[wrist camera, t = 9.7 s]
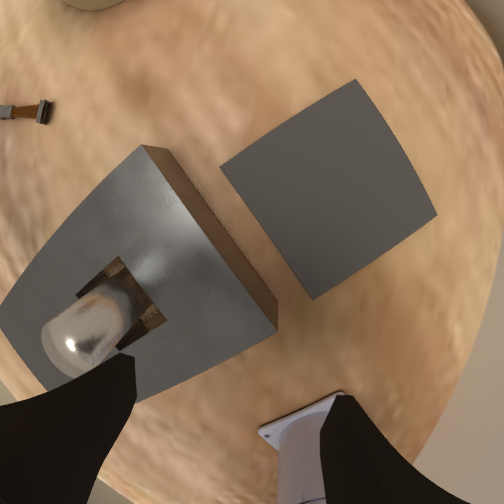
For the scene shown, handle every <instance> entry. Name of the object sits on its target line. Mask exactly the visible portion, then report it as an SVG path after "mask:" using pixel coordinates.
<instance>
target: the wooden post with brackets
mask: <svg viewBox="0 0 504 504" xmlns="http://www.w3.org/2000/svg"><path fill="white" fill-rule="evenodd" d="M49 103H51V102H49V101H47V100H41V101H40V104H38V105H33V106H23V107H16V106H13V105H11V106H3V105H1V106H0V119H2V120H6V118H9V119H14V117H26V118H33V119H36V123H40V124H45V119H46V114H47V109H48V105H49ZM45 125H46V124H45Z"/></svg>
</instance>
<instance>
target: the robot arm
mask: <svg viewBox="0 0 504 504" xmlns="http://www.w3.org/2000/svg"><path fill="white" fill-rule="evenodd" d="M136 399H137V387H136V372H135V357H133V356H130V355H127V354H123V353H118V354H116V355H114V356H113V357H111V358H109V359H108V360H106V361H104V362H103V363H101V364H99V365H98V366H96V367H94V368H93V369H91V370H89V371H88V372H86V373H84V374H82V375H81V376H79V377H77V378H75V379H73V380H71V381H69V382H67V383H65V384H63V385H61V386H59V387H57V388H55V389H53V390H51V391H48V392H46V393H43V394H41V395H38V396H35V397H32V398H29V399H26V400H22V401H19V402H15V403H11V404H7V405H2V406H0V504H87V501H88V498H89V496H90V493H91V490H92V487H93V485H94V482H95V480H96V477H97V475H98V472H99V470H100V468H101V466H102V464H103V462H104V460H105V458H106V456H107V455H108V453H109V451H110V450H111V448H112V446H113V444H114V443H115V441H116V439H117V438H118V436H119V434H120V432H121V431H122V429H123V427H124V425H125V424H126V422H127V420H128V418H129V416H130V414H131V411H132V409H133V406H134V404H135V401H136ZM258 434H259V435H260V436H261V437H262V438H263V439H265V440H266V441H267V442H268V443H269V444H270V445H271V446H272V447H274V448H275V449H276V450H277V451H278V483H277V504H470V503H468V502H465V501H463V500H461V499H459V498H457V497H455V496H454V495H452V494H450V493H448V492H447V491H445V490H444V489H442V488H440V487H439V486H437V485H436V484H435V483H433V482H432V481H430V480H429V479H428V478H426V477H425V476H424V475H422V474H421V473H420V472H419V471H418V470H416V469H415V468H414V467H413V466H412V465H411V464H410V463H409V462H408V461H407V460H405V459H404V458H403V457H402V456H401V455H400V453H399V452H398V451H397V450H396V449H395V448H394V447H393V446H392V445H391V444H390V443H389V441H388V440H387V439H386V438H385V437H384V436H383V434H382V433H381V432H380V431H379V429H378V428H377V427H376V426H375V424H374V423H373V422H372V421H371V419H370V418H369V417H368V415H367V414H366V413H365V411H364V410H363V409H362V407H361V406H360V405H359V403H358V402H357V401H356V399H355V398H354V397H353V396H350V395H345V394H344V393H343V392H337V393H335V394H333V395H331V396H329V397H327V398H325V399H323V400H321V401H319V402H317V403H315V404H313V405H311V406H308V407H306V408H304V409H302V410H300V411H298V412H295V413H293V414H291V415H289V416H286V417H284V418H282V419H279V420H277V421H275V422H272V423H270V424H267V425H265V426H262V427H260V428H259V429H258ZM266 434H269V435H266Z"/></svg>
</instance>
